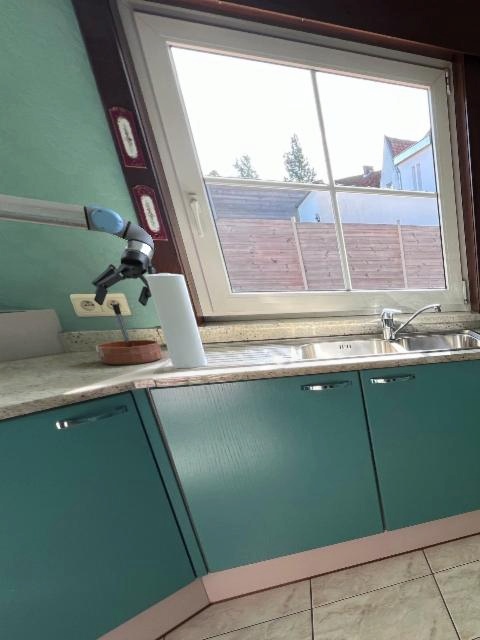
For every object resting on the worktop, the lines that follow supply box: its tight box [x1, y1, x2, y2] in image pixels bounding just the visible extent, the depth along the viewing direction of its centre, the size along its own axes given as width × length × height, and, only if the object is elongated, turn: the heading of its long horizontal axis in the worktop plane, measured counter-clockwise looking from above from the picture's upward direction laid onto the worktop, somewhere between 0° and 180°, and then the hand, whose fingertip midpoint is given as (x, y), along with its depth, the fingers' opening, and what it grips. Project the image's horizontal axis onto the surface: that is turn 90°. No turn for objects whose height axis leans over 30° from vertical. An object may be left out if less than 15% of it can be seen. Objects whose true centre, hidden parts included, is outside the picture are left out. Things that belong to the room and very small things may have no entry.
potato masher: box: [111, 303, 132, 347], centre depth 169 cm, size 7×7×18 cm
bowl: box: [95, 339, 164, 366], centre depth 172 cm, size 16×16×6 cm
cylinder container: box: [145, 272, 208, 369], centre depth 163 cm, size 9×9×30 cm
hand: (120, 303), depth 173 cm, fingers open, 13 cm apart
